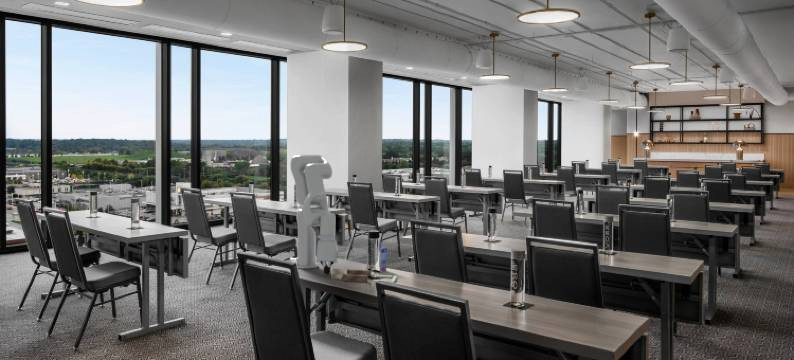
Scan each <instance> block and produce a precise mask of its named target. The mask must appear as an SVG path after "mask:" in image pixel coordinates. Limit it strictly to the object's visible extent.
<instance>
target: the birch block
mask: <svg viewBox="0 0 794 360" xmlns="http://www.w3.org/2000/svg"><path fill="white" fill-rule="evenodd" d="M330 274H331V275H330V279H332V280H333V279H335V280H341V279H342V280H343V274H344V268H333V269H331V270H330Z"/></svg>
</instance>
